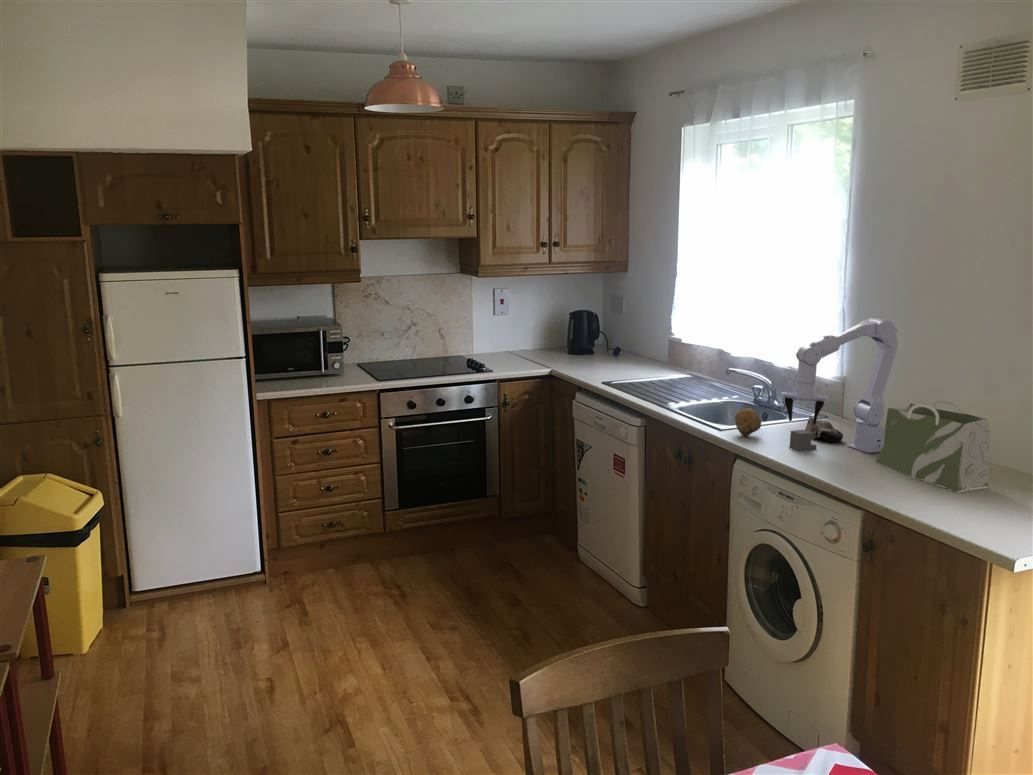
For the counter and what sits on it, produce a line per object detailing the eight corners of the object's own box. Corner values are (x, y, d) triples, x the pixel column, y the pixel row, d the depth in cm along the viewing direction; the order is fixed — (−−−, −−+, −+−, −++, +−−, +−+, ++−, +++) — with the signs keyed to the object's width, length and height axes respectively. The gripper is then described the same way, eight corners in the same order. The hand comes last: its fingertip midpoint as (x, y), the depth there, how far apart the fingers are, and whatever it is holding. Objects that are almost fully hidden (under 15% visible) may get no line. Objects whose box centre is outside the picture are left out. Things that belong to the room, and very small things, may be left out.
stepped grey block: (816, 449, 291) (817, 432, 290) (798, 451, 288) (800, 434, 287) (806, 446, 295) (808, 428, 294) (789, 448, 292) (790, 430, 291)
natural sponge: (757, 433, 310) (760, 406, 308) (762, 439, 302) (764, 411, 300) (731, 432, 311) (734, 405, 309) (735, 438, 303) (737, 410, 301)
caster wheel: (843, 449, 301) (818, 446, 299) (826, 435, 312) (802, 432, 309) (850, 432, 299) (825, 429, 296) (833, 418, 309) (808, 415, 306)
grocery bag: (872, 462, 277) (880, 391, 273) (905, 459, 282) (913, 389, 278) (955, 493, 248) (965, 414, 244) (990, 488, 253) (1001, 411, 249)
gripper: (830, 382, 287) (826, 421, 290) (784, 377, 293) (781, 416, 296) (828, 385, 281) (824, 426, 284) (782, 381, 287) (778, 421, 289)
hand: (802, 421), depth 289 cm, fingers open, 7 cm apart
